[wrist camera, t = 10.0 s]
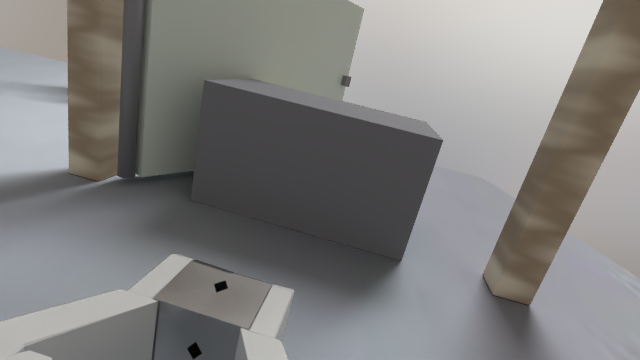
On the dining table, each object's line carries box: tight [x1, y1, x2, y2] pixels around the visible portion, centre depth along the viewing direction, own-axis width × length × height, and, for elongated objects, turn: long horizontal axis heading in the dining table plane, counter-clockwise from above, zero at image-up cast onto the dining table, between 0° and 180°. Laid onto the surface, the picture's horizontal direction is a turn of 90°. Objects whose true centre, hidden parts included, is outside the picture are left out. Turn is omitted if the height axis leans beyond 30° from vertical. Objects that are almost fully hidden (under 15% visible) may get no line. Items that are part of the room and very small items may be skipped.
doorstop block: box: [191, 79, 443, 261], centre depth 28 cm, size 16×9×9 cm, turn 80°
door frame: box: [67, 0, 640, 305], centre depth 22 cm, size 33×2×22 cm, turn 80°
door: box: [117, 0, 364, 178], centre depth 34 cm, size 27×3×18 cm, turn 144°
